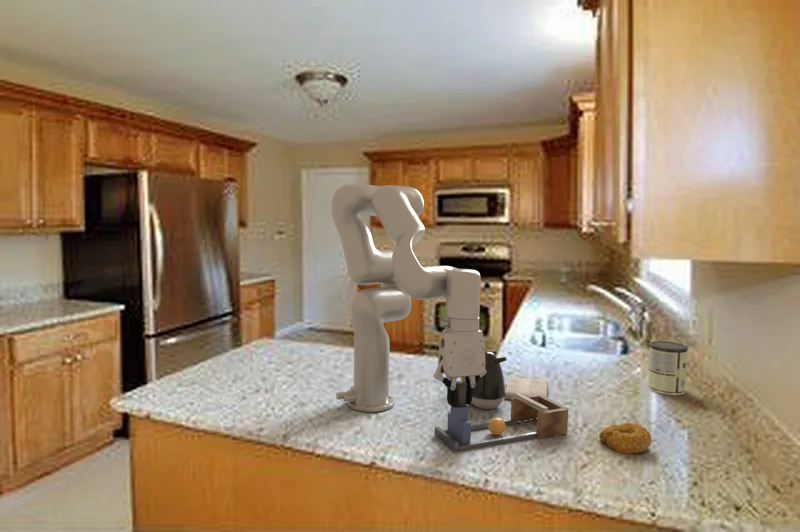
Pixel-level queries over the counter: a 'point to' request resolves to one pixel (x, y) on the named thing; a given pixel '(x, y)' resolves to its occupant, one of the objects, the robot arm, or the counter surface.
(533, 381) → the washcloth
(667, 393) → the coffee can
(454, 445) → the track
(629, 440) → the bagel
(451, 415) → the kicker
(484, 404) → the pump dispenser
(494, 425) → the ball
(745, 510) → the counter surface
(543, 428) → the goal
